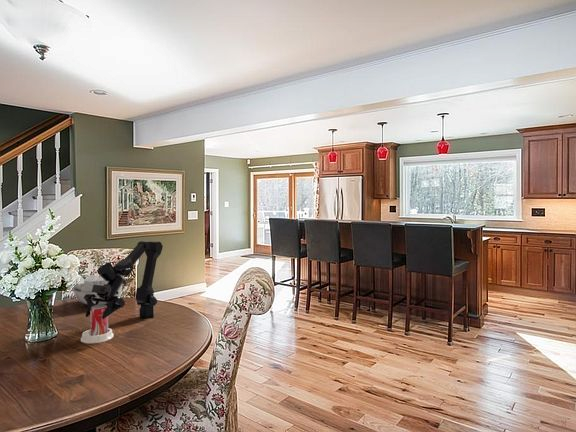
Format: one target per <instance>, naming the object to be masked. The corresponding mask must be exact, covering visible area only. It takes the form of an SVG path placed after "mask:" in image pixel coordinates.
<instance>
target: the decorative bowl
mask: <svg viewBox="0 0 576 432" xmlns="http://www.w3.org/2000/svg"><path fill="white" fill-rule="evenodd" d="M121 277H122V278H125V276H121ZM80 278H81V280H80V282H78V283H77V284H76V285H75V286H74V287H73V288H72V289H71V290H73V294H74V296H75V298H76V300H77V301H78V302H79V303H82V304H85V305H87V302H86V301H85V299H84V296H85V295H86V294H94V295H95V296H96V297H99V296H98V295H97V293H95V292H91V291H92V288H93V285H102V286H103V285H104V284H107V283H108V281H105V280H104V279H103V278H102V277H101V276H100V275H96V274H90V275H88V276H87V277H86V278H83V277H80ZM123 285H124V284H121V286H120V287H119V289H118V292H119V293H118V294H115V296H120V295H121V294H122V291H123V290H122V289H123ZM97 305H108V303H105V302H99V303H98V304H97Z"/></svg>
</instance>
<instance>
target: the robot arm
mask: <svg viewBox="0 0 576 432" xmlns="http://www.w3.org/2000/svg"><path fill="white" fill-rule="evenodd" d="M163 248H164V246H163V243H162V242H160V241H156V240H155V241H154V240H153V241H150V240H149V241H146V240H145V241H144V240H140V241H138V243H137V244H136V245H135V247H134V248H133V249H132V250H131V251H130V252H129V253H128V255H127V256H126V257H124V259H122V260H119V261H118V262H117V263H115V265H114V266H113V265H112V263H111V262H109V261H108V262H107V261H106V262H105V263H104V264H103V265H100V266H99V267H98V268H97V274H98V276H101V277H102V278H103V279H104V280H105V281H108V283H107V284H104V285H103V286H102V285H93V288H92V291H91V292H95V293H97V295H98V296H99V297H96V296H95V295H94V294H86V295H85V296H84V299H85V301H86V302H87V304H86V305H87V307H86V311H85V317H86V318H88V317H90V310H91V307H92V306H95V305H97V304H98V303H99V302H105V303H107V308H106V310H105V312H104V314H103V316H102V319H105V318H106V317H107V316H108V317H109V316H110V315H112V314H113V313H115V312H116V311H117V310H120V309H123V308H124V306H125V305H126V302H125V300H124V299H123V298H122V297H121V296H120V295H119V296H115V294H118V293H119V292H118V289H119V287H120V286H121V284H123V285H126V279H125V277H129V276H130V275H131V274H132V271H134V267H135V264H136V263H137V262H138V260H139V259H140V258H141V257H142V255H144V253H145V256H146V261H145V266H144V272H143V276H142V281H141V285H140V286H139V287H137V288H136V289H135V294H134V296H135V301H136V304H137V306H140V307H139V308H138V309H139V317H140V318H139V319H149V318H154V317H155V306H156V305H157V304H158V298H156V297H155V296H154V295H155V294H154V293H155V291H154V288H153V282H154V276H155V271H156V264H157V261H158V260H157V259H158V258H159V257H160V256H161V254H162V251H163ZM121 276H124V278H122V277H121Z"/></svg>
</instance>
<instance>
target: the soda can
mask: <svg viewBox="0 0 576 432" xmlns="http://www.w3.org/2000/svg"><path fill="white" fill-rule="evenodd" d="M107 306H108V304H103V305H95V306H92V307H91V310H90V315H89V317H90V318H89V320H90V322H89V323H90V329H91V336H97V335H102V334H106V333H108V328H109V316H107V317H106V318H105V319H102V316H103V314H104V312H105V310H106V308H107Z"/></svg>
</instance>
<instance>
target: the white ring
mask: <svg viewBox="0 0 576 432" xmlns="http://www.w3.org/2000/svg"><path fill="white" fill-rule="evenodd" d="M113 338H114V333H113V329H112V328H109V327H108V333H106V334H102V335H97V336H91V328H90V329H87V330H86V331H83V332H82V333H81V338H80V342H81V343H83V344H93V345H94V344H99V343H104V342H107V341H110V340H112V339H113Z"/></svg>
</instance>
